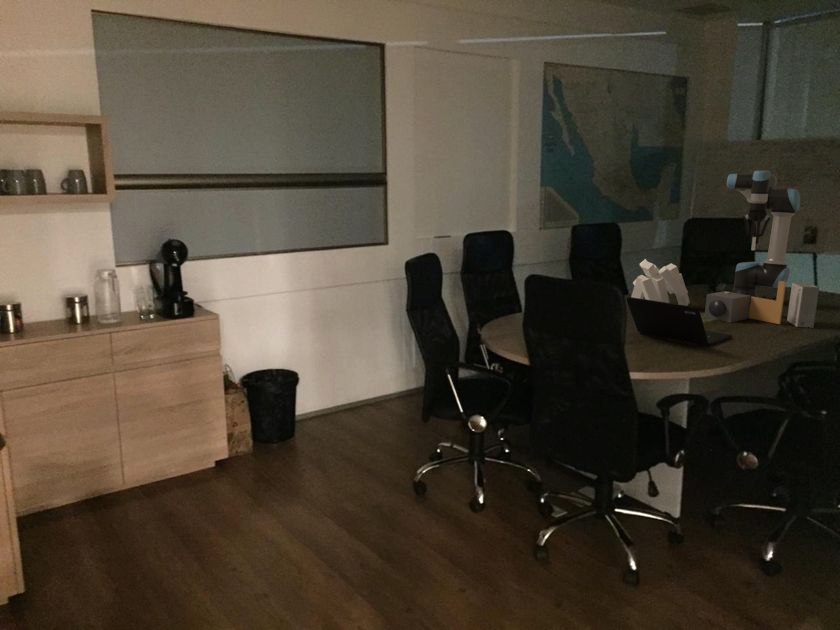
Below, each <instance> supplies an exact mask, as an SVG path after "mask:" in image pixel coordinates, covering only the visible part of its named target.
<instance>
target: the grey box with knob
mask: <svg viewBox="0 0 840 630" xmlns="http://www.w3.org/2000/svg"><path fill="white" fill-rule="evenodd" d="M705 298H706V299H705V307H704V309H705V310H704V318H705V317H709V318H708V319H710V318H713V319H712V320H715V319H716V321H720V320H721V321H722V322H725V321H726V322H727V323H734V322H738V321H739V320H740V321H743V320H748V319H749V310H750V305H749V304H750V295H744V294H738V293H732V291H731V292H730V291H725V290H724V291H720V292H714V293H713V292H711V293H706V297H705ZM721 321H720V322H721ZM740 321H739V322H740Z"/></svg>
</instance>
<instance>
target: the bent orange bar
mask: <svg viewBox="0 0 840 630" xmlns="http://www.w3.org/2000/svg"><path fill="white" fill-rule="evenodd" d="M786 284H787V282H785V281H779V283H778V288H777V292H776V299H775V300H776V301H775V300H772V299H769V298H766V299H764V298H762V297H759V296H758V297H751V302H750V305H749V312H748V319H753V320H756V321H762V322H767V323H772V324H777V325H781V323H782V314H783V307H784V299H785V292H786Z"/></svg>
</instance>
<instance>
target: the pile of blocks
mask: <svg viewBox="0 0 840 630" xmlns="http://www.w3.org/2000/svg"><path fill="white" fill-rule="evenodd" d="M639 267H640V268H641V269H642V271H643V273H644V275H643V274H640V275H638V276H637V278H635V279H634V281H633V282H632V284H633V285H634V287H633V290H632V293H631V296H630V297H633V298H640V299H647V300H653V301H659V302H666V303H671V301H670V297H669V295H672V294H675V297H676V300H677V304H679V305H686V306H689V304H690V303H691V302H690V297H689V295H688V293H689V291H688V290H687V287H686V284H685V281H684V278H683V275H682V274H683V273H680V272H679V268H678V266H677V265H675V264H673V263H669V264H667V265H666V266H665V265H664V266H663V267H662V268H659V267H658V266H656V264H654V263H652V262H649V261H648V259H646V258H644V259H643V260H642V261H641V262H640V263H639ZM668 293H669V294H668Z"/></svg>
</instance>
